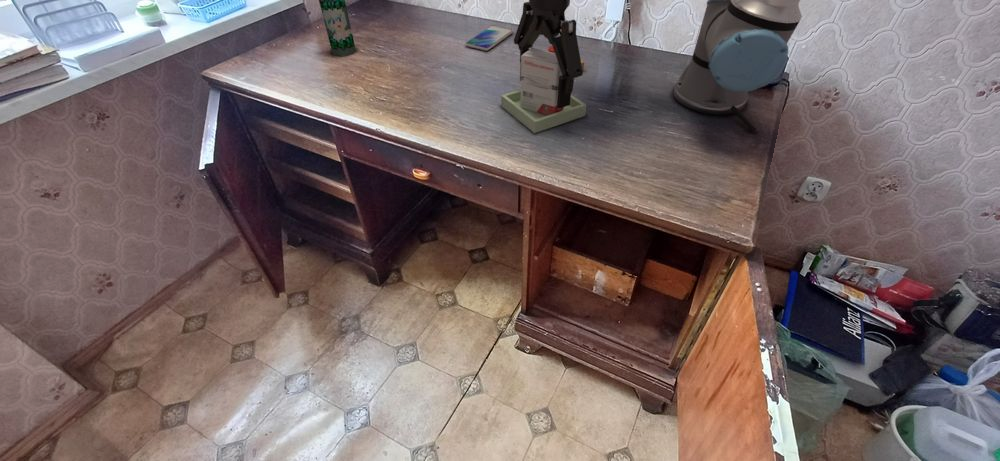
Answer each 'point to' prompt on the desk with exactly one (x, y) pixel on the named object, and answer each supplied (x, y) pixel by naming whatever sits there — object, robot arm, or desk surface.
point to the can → (338, 26)
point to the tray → (538, 120)
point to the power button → (551, 49)
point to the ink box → (540, 81)
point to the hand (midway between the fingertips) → (543, 92)
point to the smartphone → (489, 38)
